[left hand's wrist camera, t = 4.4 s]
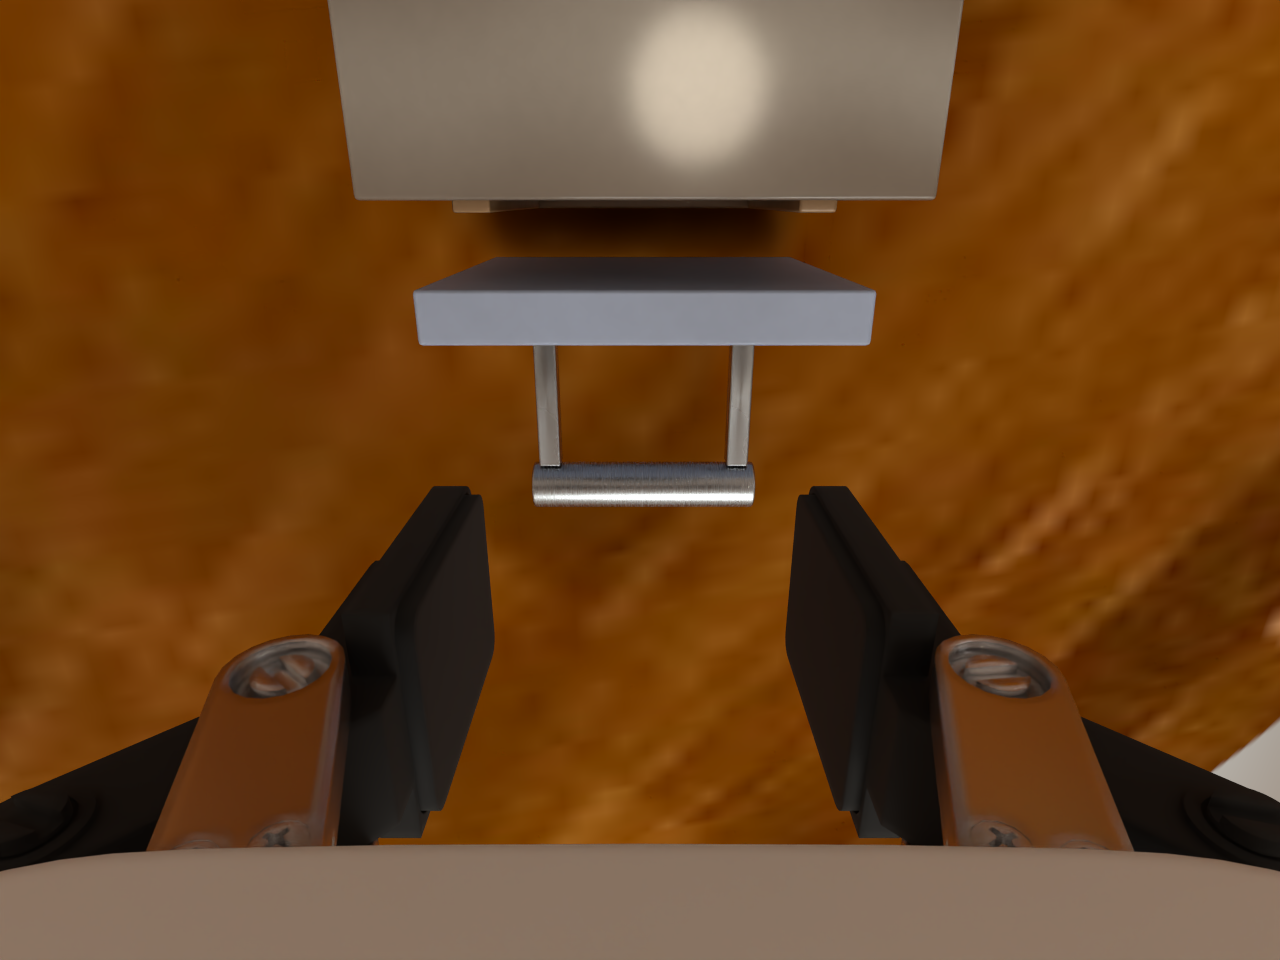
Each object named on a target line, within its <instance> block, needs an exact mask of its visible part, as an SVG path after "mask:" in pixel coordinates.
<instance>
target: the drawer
mask: <svg viewBox="0 0 1280 960" xmlns="http://www.w3.org/2000/svg"><path fill="white" fill-rule="evenodd" d="M452 206H453V211H454V212H455V213H491V212H502V211H512V210H523V209H534V208H754V209H765V210H777V211H789V212H800V213H833V212H835V211H836V208H837V200H452ZM413 297H414V305H415V314H416V323H417V332H418V341H419V343H420V344H421V345H533V352H534V371H535V389H536V407H537V425H538V443H539V461H540V462H535V464H534V467H533V473H532V495H533V502H534V505H535V506H537V507H750V506H752V505H753V502H754V496H755V472H754V467H753V464H752V462H748V446H749V429H750V412H751V395H752V377H753V360H754V345H868V344H869V343H870V341H871V332H872V324H873V315H874V307H875V298H876V292H875V291H874V290H872V289H870V288H867V287H864V286H862V285H859V284H857V283H854V282H852V281H849V280H847V279H844V278H841V277H839V276H836V275H834V274H831V273H829V272H826V271H824V270H821V269H818V268H816V267H813V266H811V265H808V264H806V263H803V262H801V261H798V260H795V259H793V258H790V257H496V258H493V259H491V260H488V261H486V262H484V263H481V264H479V265H476V266H474V267H471V268H469V269H466V270H464V271H462V272H459V273H457V274H454V275H452V276H449V277H447V278H444V279H442V280H439V281H437V282H435V283H432V284H430V285H427V286H425V287H422V288H420V289H417V290H415V291H414V293H413ZM558 345H730V347H729V369H728V391H727V413H726V435H725V457H724V459H725V462H562V459H563V457H562V434H561V410H560V387H559V363H558Z"/></svg>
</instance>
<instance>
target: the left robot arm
mask: <svg viewBox="0 0 1280 960" xmlns="http://www.w3.org/2000/svg"><path fill="white" fill-rule="evenodd" d="M785 638H786V651H787V656H788V659H789V662H790V665H791V668H792V671H793V675H794V678H795V681H796V684H797V687H798V690H799V693H800V696H801V699H802V702H803V705H804V709H805V712H806V715H807V718H808V721H809V724H810V727H811V730H812V733H813V736H814V739H815V743H816V746H817V749H818V752H819V755H820V758H821V761H822V764H823V767H824V770H825V773H826V777H827V780H828V783H829V786H830V789H831V792H832V795H833V798H834V801H835V804H836V807H837V808H838V810H839V811H850V813H851V816H852V819H853V822H854V825H855V828H856V831H857V833H858V836H859V838H900V837H901V838H902V843H901V845H756V844H524V845H379V843H378V838H379V837H380V838H421V836H422V833H423V830H424V828H425V825H426V822H427V819H428V816H429V813H430V811H441V810H442V808H443V807H444V804H445V801H446V798H447V795H448V792H449V789H450V786H451V783H452V780H453V777H454V773H455V770H456V767H457V764H458V761H459V758H460V755H461V752H462V749H463V746H464V743H465V739H466V736H467V733H468V730H469V727H470V724H471V721H472V718H473V715H474V712H475V709H476V705H477V702H478V699H479V696H480V693H481V690H482V687H483V684H484V681H485V678H486V675H487V671H488V668H489V665H490V662H491V659H492V656H493V651H494V623H493V612H492V600H491V589H490V577H489V566H488V554H487V543H486V531H485V520H484V509H483V501H482V497H481V495H471V492H470V489H469V487H467V486H434V487H433V488H432V489H431V490H430V491H429V493H428V494H427V496H426V497H425V498H424V500H423V501H422V503H421V504H420V505H419V507H418V508H417V509H416V511H415V512H414V514H413V515H412V516H411V518H410V519H409V521H408V522H407V523H406V525H405V526H404V527H403V529H402V530H401V532H400V533H399V534H398V536H397V537H396V539H395V540H394V541H393V543H392V544H391V545H390V547H389V548H388V550H387V551H386V552H385V554H384V555H383V557H382V558H381V559H380V561H375V562H374V563H373V564H372V565H371V566H370V567H369V568H368V570H367V571H366V572H365V574H364V575H363V576H362V578H361V579H360V581H359V582H358V583H357V585H356V586H355V587H354V589H353V590H352V591H351V593H350V594H349V595H348V597H347V598H346V600H345V601H344V602H343V604H342V605H341V606H340V608H339V609H338V610H337V612H336V613H335V614H334V616H333V617H332V619H331V620H330V621H329V623H328V624H327V625H326V627H325V628H324V629H323V631H322V632H321V633H320V635H311V634H305V635H292V636H286V637H282V638H277V639H273V640H269V641H267V642H264V643H262V644H259V645H256V646H254V647H251V648H249V649H248V650H246V651H244V652H242V653H241V654H239V655H237V656H235V657H234V658H233V659H232V660H231V661H229V662H228V663H227V664H226V665H225V666H223V667H222V669H221V670H220V672H219V673H218V675H217V676H216V678H215V679H214V682H213V684H212V687H211V689H210V692H209V694H208V697H207V699H206V702H205V704H204V707H203V709H202V712H201V714H200V717H197V718H195V719H193V720H190V721H188V722H186V723H183V724H181V725H179V726H176V727H174V728H172V729H169V730H167V731H165V732H162V733H160V734H158V735H155V736H153V737H151V738H148V739H146V740H144V741H141V742H139V743H137V744H134V745H132V746H130V747H127V748H125V749H123V750H120V751H118V752H116V753H113V754H111V755H109V756H106V757H104V758H102V759H99V760H97V761H95V762H92V763H90V764H88V765H85V766H83V767H81V768H78V769H76V770H74V771H71V772H69V773H66V774H64V775H62V776H59V777H57V778H55V779H52V780H50V781H48V782H45V783H43V784H41V785H38V786H36V787H34V788H31V789H28V790H25V791H22V792H20V793H18V794H15V795H13V796H11V798H10V799H8V800H6V801H4V802H2V803H0V960H1280V803H1279V802H1278V801H1276V800H1274V799H1273V798H1271V797H1269V796H1267V795H1265V794H1263V793H1260V792H1257V791H1255V790H1252V789H1249V788H1246V787H1244V786H1242V785H1239V784H1237V783H1235V782H1232V781H1230V780H1228V779H1225V778H1223V777H1221V776H1218V775H1216V774H1213V773H1211V772H1209V771H1206V770H1204V769H1202V768H1199V767H1197V766H1195V765H1192V764H1190V763H1188V762H1185V761H1183V760H1181V759H1178V758H1176V757H1174V756H1171V755H1169V754H1167V753H1164V752H1162V751H1160V750H1157V749H1155V748H1153V747H1150V746H1148V745H1146V744H1143V743H1141V742H1139V741H1136V740H1134V739H1132V738H1129V737H1127V736H1125V735H1122V734H1120V733H1118V732H1115V731H1113V730H1111V729H1108V728H1106V727H1104V726H1101V725H1099V724H1097V723H1094V722H1092V721H1090V720H1087V719H1085V718H1083V717H1080V714H1079V712H1078V709H1077V707H1076V704H1075V702H1074V699H1073V697H1072V694H1071V692H1070V689H1069V687H1068V684H1067V682H1066V679H1065V678H1064V676H1063V675H1062V673H1061V672H1060V670H1059V669H1058V667H1057V666H1055V665H1054V664H1053V663H1052V662H1051V661H1049V660H1048V659H1047V658H1046V657H1045V656H1043V655H1041V654H1039V653H1038V652H1036V651H1034V650H1032V649H1031V648H1029V647H1026V646H1024V645H1021V644H1018V643H1016V642H1013V641H1011V640H1007V639H1003V638H998V637H994V636H988V635H975V634H969V635H960V633H959V632H958V631H957V629H956V628H955V627H954V625H953V624H952V623H951V621H950V620H949V619H948V617H947V616H946V614H945V613H944V612H943V610H942V609H941V608H940V606H939V605H938V604H937V602H936V601H935V600H934V598H933V597H932V595H931V594H930V593H929V591H928V590H927V589H926V587H925V586H924V585H923V583H922V582H921V581H920V579H919V578H918V576H917V575H916V574H915V572H914V571H913V570H912V568H911V567H910V566H909V565H908V564H907V563H906V562H905V561H900V559H899V558H898V557H897V555H896V554H895V552H894V551H893V550H892V548H891V547H890V546H889V544H888V543H887V541H886V540H885V539H884V537H883V536H882V534H881V533H880V532H879V530H878V529H877V528H876V526H875V525H874V523H873V522H872V521H871V519H870V518H869V516H868V515H867V514H866V512H865V511H864V510H863V508H862V507H861V505H860V504H859V503H858V501H857V500H856V498H855V497H854V496H853V494H852V493H851V492H850V490H849V489H848V488H847V487H846V486H813V487H811V489H810V492H809V495H799V497H798V501H797V508H796V520H795V531H794V543H793V554H792V566H791V577H790V589H789V600H788V611H787V623H786V636H785Z"/></svg>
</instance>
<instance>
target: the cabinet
mask: <svg viewBox="0 0 1280 960" xmlns="http://www.w3.org/2000/svg"><path fill="white" fill-rule="evenodd" d="M963 1H964V0H328V7H329V14H330V22H331V29H332V36H333V44H334V51H335V58H336V66H337V73H338V80H339V88H340V95H341V102H342V110H343V117H344V124H345V132H346V139H347V146H348V154H349V161H350V168H351V176H352V183H353V190H354V196H355V198H356V199H357V200H933V199H935V197H936V192H937V185H938V178H939V171H940V164H941V157H942V150H943V143H944V136H945V129H946V122H947V115H948V107H949V100H950V93H951V86H952V79H953V72H954V65H955V58H956V51H957V44H958V37H959V29H960V22H961V15H962V8H963Z"/></svg>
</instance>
